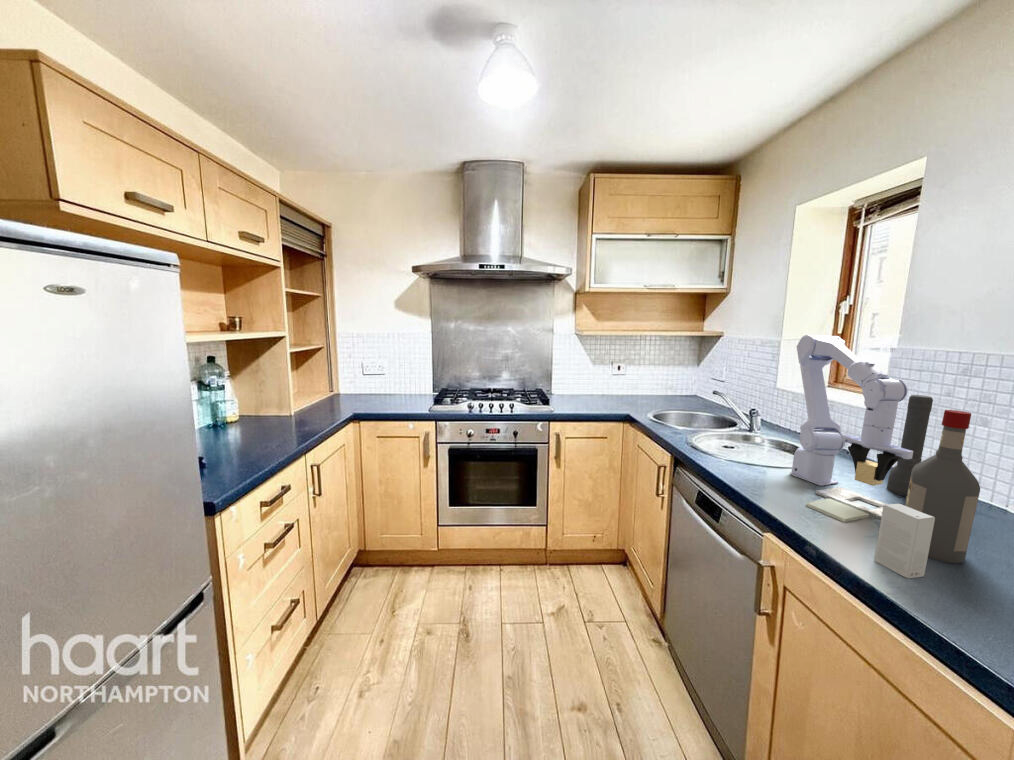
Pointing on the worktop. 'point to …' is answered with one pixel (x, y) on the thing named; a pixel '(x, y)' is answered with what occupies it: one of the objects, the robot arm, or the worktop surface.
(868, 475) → the light wood cube
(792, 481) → the worktop surface
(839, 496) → the rail plate
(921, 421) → the flashlight
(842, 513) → the tile
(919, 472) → the liquor
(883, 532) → the skincare box
